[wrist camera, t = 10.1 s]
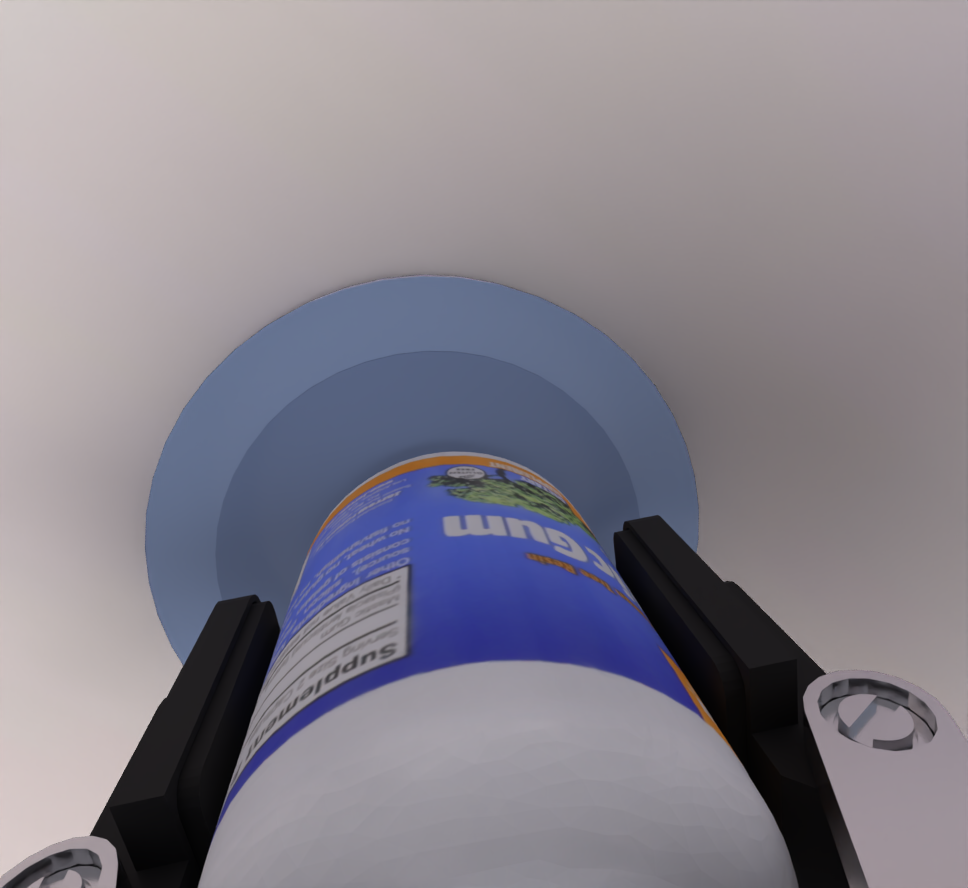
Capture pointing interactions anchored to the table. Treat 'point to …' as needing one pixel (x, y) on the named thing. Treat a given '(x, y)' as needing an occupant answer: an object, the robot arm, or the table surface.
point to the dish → (396, 430)
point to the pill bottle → (480, 711)
